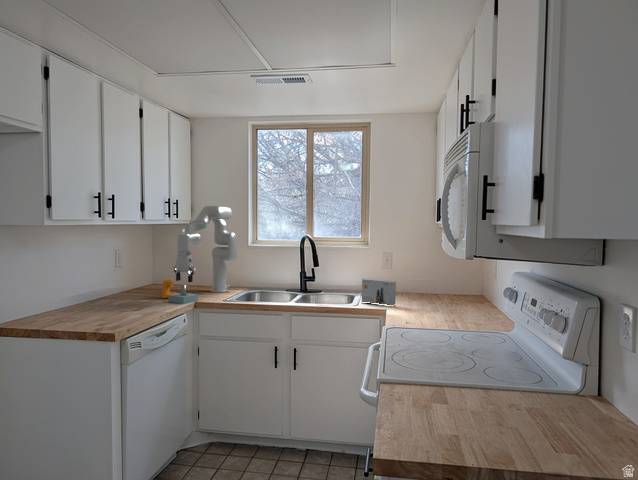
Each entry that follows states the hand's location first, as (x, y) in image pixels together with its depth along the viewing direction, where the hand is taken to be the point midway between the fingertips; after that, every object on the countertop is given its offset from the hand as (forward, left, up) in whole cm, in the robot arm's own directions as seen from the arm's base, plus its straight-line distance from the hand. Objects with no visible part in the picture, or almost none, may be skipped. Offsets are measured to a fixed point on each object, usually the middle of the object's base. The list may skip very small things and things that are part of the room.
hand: (184, 281), depth 262 cm
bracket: (-4, -16, -13) cm, 21 cm away
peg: (+1, 0, -12) cm, 12 cm away
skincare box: (-57, +106, -13) cm, 121 cm away
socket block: (+1, 0, -12) cm, 12 cm away
